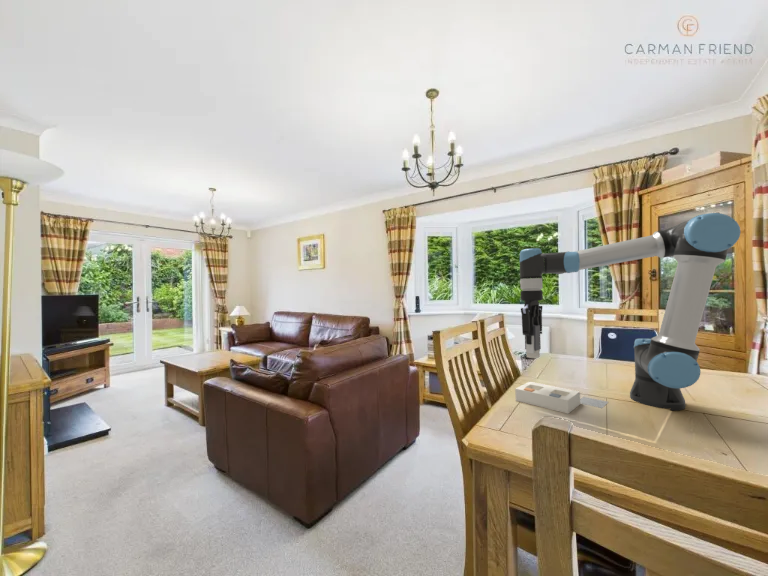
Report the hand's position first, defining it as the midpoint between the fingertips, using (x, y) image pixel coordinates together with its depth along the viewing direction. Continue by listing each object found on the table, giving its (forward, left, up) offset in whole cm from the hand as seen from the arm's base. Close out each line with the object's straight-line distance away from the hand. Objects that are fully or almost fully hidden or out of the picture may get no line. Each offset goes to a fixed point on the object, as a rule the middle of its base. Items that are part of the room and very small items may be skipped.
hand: (533, 351), depth 120 cm
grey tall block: (0, 0, -2) cm, 2 cm away
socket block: (-5, 0, -19) cm, 19 cm away
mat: (-16, -11, -19) cm, 27 cm away
